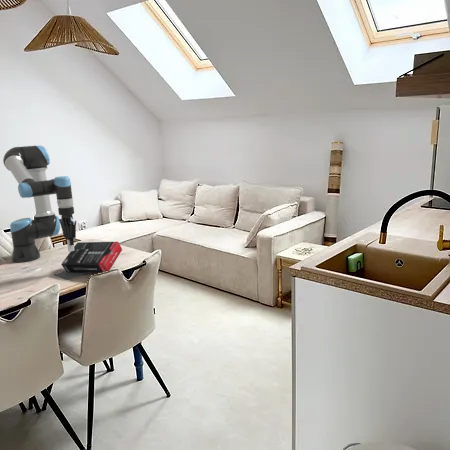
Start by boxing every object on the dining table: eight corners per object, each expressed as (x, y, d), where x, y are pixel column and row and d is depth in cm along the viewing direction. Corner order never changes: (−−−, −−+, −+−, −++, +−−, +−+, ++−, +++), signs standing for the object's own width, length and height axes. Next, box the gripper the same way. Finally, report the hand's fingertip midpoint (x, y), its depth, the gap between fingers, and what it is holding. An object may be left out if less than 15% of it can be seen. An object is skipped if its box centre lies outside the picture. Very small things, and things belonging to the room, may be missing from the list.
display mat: (54, 274, 219) (54, 274, 219) (89, 263, 235) (89, 263, 235) (67, 279, 211) (67, 279, 211) (103, 267, 227) (103, 267, 227)
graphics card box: (66, 273, 221) (109, 274, 211) (59, 264, 217) (103, 264, 207) (82, 250, 233) (123, 249, 223) (76, 241, 229) (118, 240, 219)
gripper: (52, 206, 218) (58, 250, 224) (65, 209, 210) (71, 254, 216) (65, 204, 224) (71, 247, 229) (79, 206, 216) (84, 250, 221)
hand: (71, 250), depth 222 cm, fingers closed
